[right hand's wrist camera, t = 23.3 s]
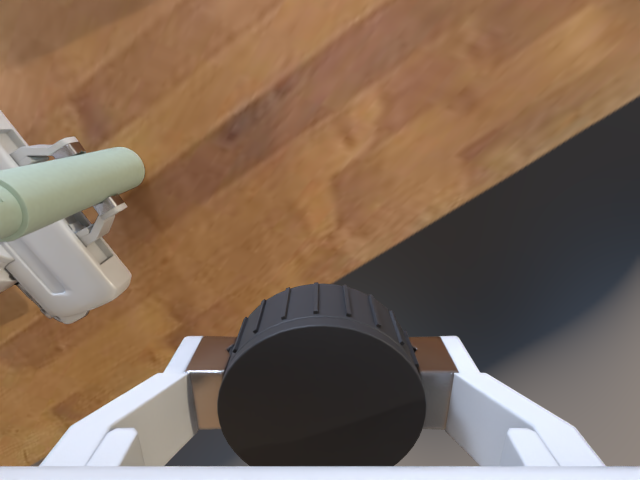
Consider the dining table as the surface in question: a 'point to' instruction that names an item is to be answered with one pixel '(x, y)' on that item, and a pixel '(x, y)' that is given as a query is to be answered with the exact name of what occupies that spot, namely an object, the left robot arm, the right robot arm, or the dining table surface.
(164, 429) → the right robot arm
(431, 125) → the dining table surface
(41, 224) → the pale green cylinder
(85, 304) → the left robot arm
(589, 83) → the dining table surface
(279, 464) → the lid
